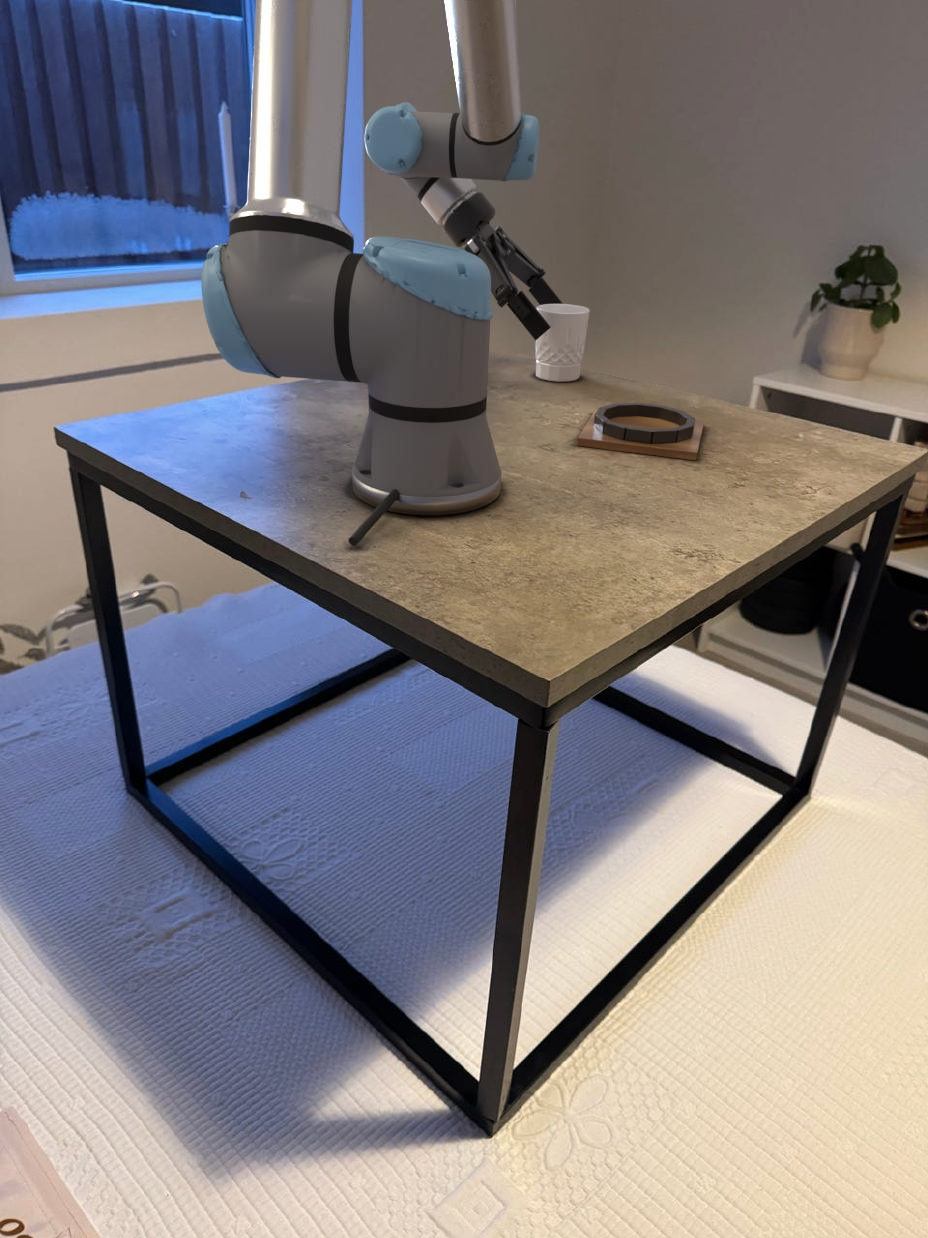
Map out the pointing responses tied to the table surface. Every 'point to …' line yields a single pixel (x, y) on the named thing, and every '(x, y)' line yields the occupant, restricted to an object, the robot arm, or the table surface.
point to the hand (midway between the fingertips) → (553, 325)
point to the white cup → (561, 342)
